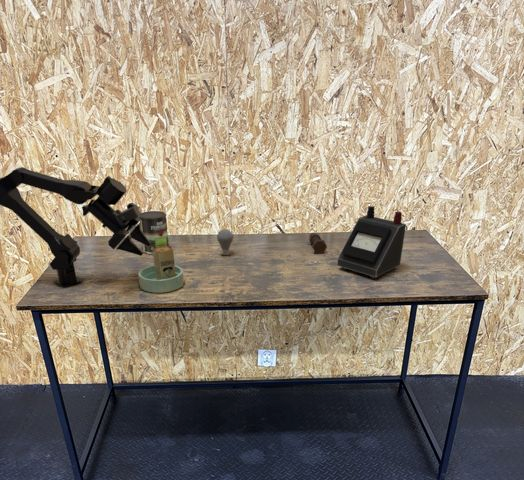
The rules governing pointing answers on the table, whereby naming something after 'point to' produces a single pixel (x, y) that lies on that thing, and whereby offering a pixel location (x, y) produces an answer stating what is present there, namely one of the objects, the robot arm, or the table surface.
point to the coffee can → (154, 230)
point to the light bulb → (225, 240)
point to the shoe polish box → (164, 263)
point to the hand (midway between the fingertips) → (146, 249)
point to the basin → (159, 286)
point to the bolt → (317, 243)
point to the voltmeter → (373, 245)
